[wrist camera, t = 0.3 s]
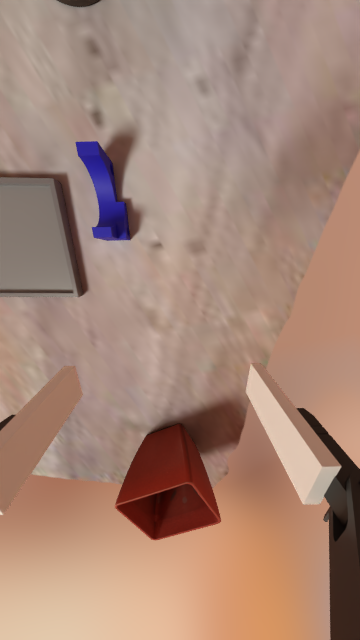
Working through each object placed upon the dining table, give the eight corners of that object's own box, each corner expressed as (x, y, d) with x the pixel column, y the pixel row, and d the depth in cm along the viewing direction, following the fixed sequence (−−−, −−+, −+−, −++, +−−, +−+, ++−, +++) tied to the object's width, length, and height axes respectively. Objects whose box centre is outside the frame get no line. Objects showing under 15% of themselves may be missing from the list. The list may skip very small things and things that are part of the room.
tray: (-57, 180, 29) (-73, 175, 27) (60, 183, 30) (53, 178, 28) (-11, 294, 36) (-21, 296, 34) (83, 295, 37) (78, 297, 35)
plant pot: (186, 411, 50) (191, 483, 35) (209, 449, 57) (222, 523, 41) (131, 431, 53) (112, 506, 37) (159, 465, 59) (153, 541, 43)
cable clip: (130, 239, 33) (121, 236, 28) (107, 240, 33) (93, 237, 28) (121, 163, 29) (108, 141, 23) (95, 163, 29) (75, 141, 23)
